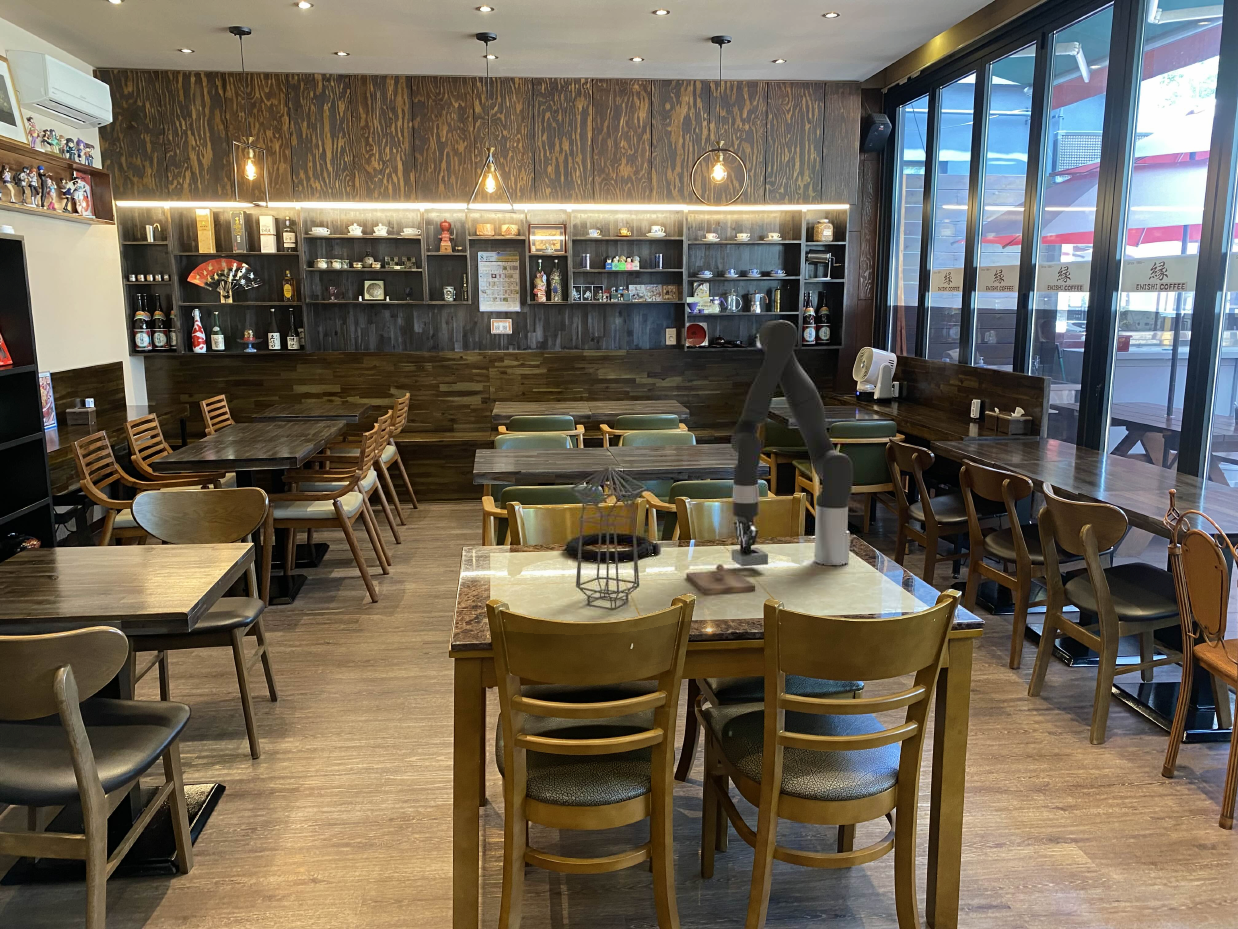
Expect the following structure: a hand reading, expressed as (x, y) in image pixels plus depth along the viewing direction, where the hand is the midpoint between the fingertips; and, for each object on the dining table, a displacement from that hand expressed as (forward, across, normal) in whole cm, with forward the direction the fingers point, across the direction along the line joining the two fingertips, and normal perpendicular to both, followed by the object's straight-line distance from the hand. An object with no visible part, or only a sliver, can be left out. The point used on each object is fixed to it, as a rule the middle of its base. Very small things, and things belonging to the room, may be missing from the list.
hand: (745, 557), depth 260 cm
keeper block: (+3, -15, +14) cm, 20 cm away
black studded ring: (+3, +27, +34) cm, 43 cm away
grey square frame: (+1, -3, 0) cm, 3 cm away
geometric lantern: (+2, -23, +46) cm, 52 cm away
